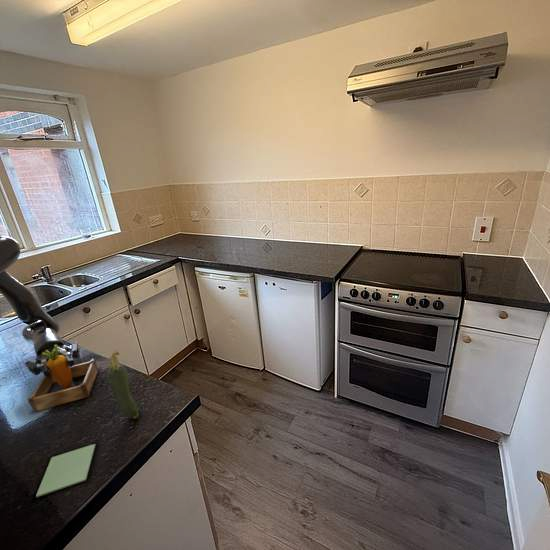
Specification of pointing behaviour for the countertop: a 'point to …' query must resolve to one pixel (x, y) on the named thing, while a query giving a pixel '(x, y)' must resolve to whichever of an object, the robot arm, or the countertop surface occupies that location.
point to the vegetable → (121, 387)
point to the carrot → (59, 368)
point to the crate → (45, 400)
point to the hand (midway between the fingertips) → (59, 368)
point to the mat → (66, 470)
